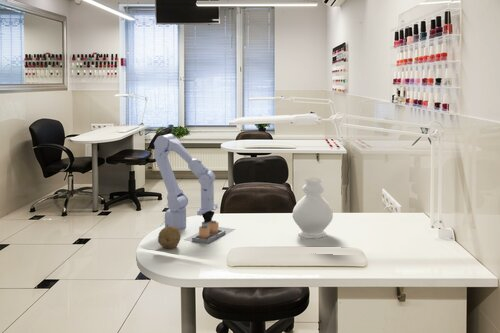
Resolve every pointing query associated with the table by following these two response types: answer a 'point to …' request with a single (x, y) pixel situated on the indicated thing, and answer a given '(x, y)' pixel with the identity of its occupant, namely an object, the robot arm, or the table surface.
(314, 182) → the decorative vase
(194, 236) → the housing
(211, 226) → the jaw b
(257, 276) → the table surface
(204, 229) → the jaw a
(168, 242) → the natural sponge
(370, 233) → the table surface
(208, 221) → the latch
